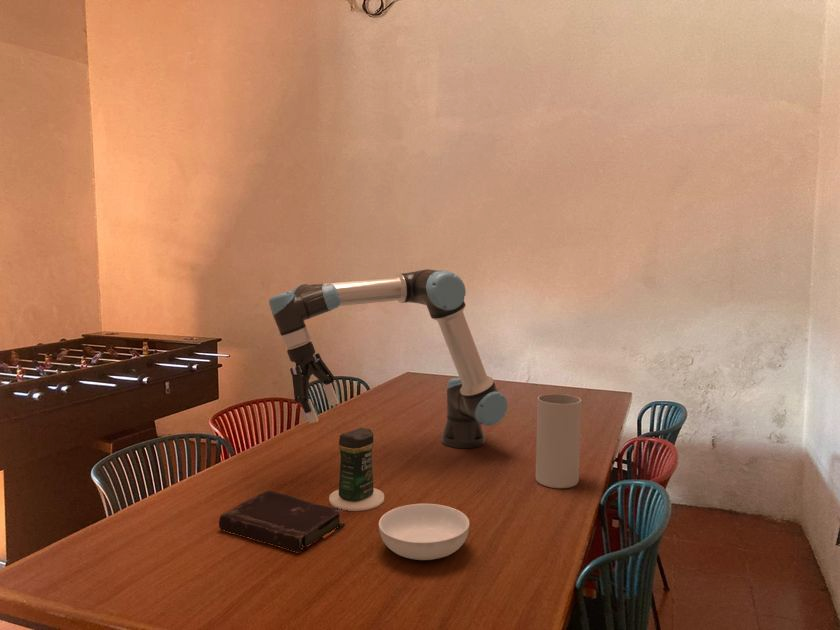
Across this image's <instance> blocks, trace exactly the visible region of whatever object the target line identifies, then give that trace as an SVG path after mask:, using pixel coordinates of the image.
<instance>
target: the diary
mask: <svg viewBox="0 0 840 630" xmlns="http://www.w3.org/2000/svg"><path fill="white" fill-rule="evenodd" d="M345 511H346V510H341V509H337V508H335V507H333V506H332V507H330V506H327V505H323V504H319V503H316V502H310V501H307V500H304V499H301V498H299V497H295V496H292V495H289V494H286V493H282V492H277V491H274V490H270V489H267V490H265V491H263V492H261V493H260V494H256V495H255V496H253V497H251V498H250V499H247V500H245V501H243V502H241V503H239V504H238V505H236V506H235V507H233V508H231V509H229V510H228V511H226V512H224V513H221V514H220V516H219V521H218V528H219V529H221V530H225V531H228V532H231V533H235V534H238V535H242V536H245V537H249V538H252V539H255V540H259V541H262V542H266V543H270V544H273V545H276V546H280V547H283V548H286V549H289V550H292V551H295V552H298V553H301V552H302V550H301V548H304V547H303V546H307V545H309V544H311V543H313V542H314V541H316V540H317V539H319V538H321V537H322V536H324V535H325V534H327V533H329V532H331V531H332V530H334V529H335V528H336V529H335V531H336V530H338V529H339V530H340V528H341V529H342V528H343V527H344V526H345V525H346V524H345V522H343V523H340V519H341V516H340V514H342V513H345ZM337 527H338V528H337ZM221 530H220V531H221ZM339 530H338V531H339ZM336 532H337V531H336ZM231 533H230V534H231ZM238 535H237V536H238ZM242 536H241V537H242ZM245 537H244V538H245ZM321 539H322V538H321ZM319 540H320V539H319ZM317 541H318V540H317ZM317 541H316V542H317ZM314 543H315V542H314ZM314 543H313V544H314ZM302 545H303V546H302ZM311 545H312V544H311Z"/></svg>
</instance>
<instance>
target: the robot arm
mask: <svg viewBox="0 0 840 630" xmlns="http://www.w3.org/2000/svg"><path fill="white" fill-rule="evenodd" d="M465 285H466V284H464V281H463V279H461V277H460V276H458V275H457V274H456V273H454V272H452V271H448V270H443V269H442V270H437V269H427V268H426V269H421V270H416V271H409V272H403V273H398V274H396V275H395V277H384V278H383V277H382V278H371V279H361V280H350V281H339V282H327V283H317V284H316V283H315V284H307V283H305V284H299V285H296V286H295V288H293V290H288V291H284V292H281V293H279V294H276V295H274V296H272V297H270V298H269V300H268V304H269V307H270V311H271V314H272V317H273V319H274V321H275V324H276V326H277V329H278V331H279V334H280V336H281V340H282V342H283V345H284V347H285V348H286V349H287V351H286V353H287V355H288V359H289V360H290V362H291V363H295V366H294V367H291V368H290V369H289V371H290V373H291V376H292V377H291V378H292V386H293V397H294V402H295V404H300V405H301V406H302V409H303V411H304V414H305V416H306V419H307V421H308V424H309V425H310V424H313V423H317V422H319V417H318V416H317V412H316V410H315V407H314V405H313V403H312V400H311V399H309V391H310V389H309V388H310V387H309V385H310V384H309V383H310V382H309V381H310V379H311V376H313V375H314V377H315V378H317V379H318V381H320V382H321V383H322V384H323V385H322V388H323V390H324V393H325V395H326V396H325V397H326V398H327V402H328V404H329V406H330V407H333V406H336V405H339V404H340V402H339V399H338V397H337V394H336V391H335V389H334V387H333V383H334V382H335V377H334V374H333V373H332V372H331V370H330V369H329V368H328V366H327V365H326V364H325V362H324V361H323V359H322V357H321V355H320V353H316V349H315V347H314V346H315V345H314V344H313V342H312V341H311V336H310V333H309V331H308V328H307V326H306V323H305V321H306V320H309V319H311V318H315V317H317V316H320V315H322V314H326V313H328V312H331V311H333V310H335V309H336V308H339V307H343V306H354V305H355V306H356V305H364V304H374V303H383V302H385V303H386V302H395V301H397V302H399V303H400V304H403V303H404V304H405V303H409V304H410V303H412V304H419V305H420V304H421V305H423V306H426V308H427V310H428V312H429V315H430V318H431V319H432V320H434V321H437V322H438V323H437V324H438V326H439V328H440V331H441V333H442V336H443V338H444V341H445V345H446V346H447V348H448V351H449V353H450V356H451V359H452V362H453V365H454V367H455V369H456V372H457V375H458V377H452V378H450V379H448V380H447V382H446V383H447V385H446V422H445V424H444V428H443V431H442V434H441V443H442V444H444V445H445V446H446V447H451V448H456V449H457V448H458V449H475V448H478V447H481V446H483V445H484V444H485V443H486V442H485V441H486V440H485V439H486V438H485V437H486V436H485V432H484V430H483V426H482V425H484V426H489V427H490V426H496V425H497V424H499V423H500V422H501V421H502V420H503V419H504V417H505V415H506V413H507V410H508V400H507V398H506V397H505V395H504V394H503V393H502V392H500V391H499V390H498V389H497V386H496V384H495V381H494V379H493V377H491V376H488V375H487V373H486V371H485V370H486V369H485V367H484V364H483V363H482V359H481V355H479V351H478V348H477V346H476V343H475V341H474V338H473V335H472V333H471V330H470V327H469V324H468V322H467V319H466V316H465V314H464V311H465V308H466V303H465V297H466V295H467V294H466V293H467V291H466V286H465Z"/></svg>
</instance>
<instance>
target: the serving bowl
mask: <svg viewBox="0 0 840 630" xmlns="http://www.w3.org/2000/svg"><path fill="white" fill-rule="evenodd" d="M378 531H379V535H380V538H381V539H382V541H383V543H384V544H385V546H386V547H387V548H388V549H389V550H391V552H393V553H395V554H397V555H398V556H400V557H403V558H406V559H410V560H418V561H432V560H436V559H441V558H445V557H448V556H450V555H452V554H453V553H455V552H456V551H458V550H459V549H460V548H461V547H462V546H463V545H464V543H465V542H466V540H467V538H468V536H469V535H468V534H469V531H470V519H469V517H468V516H467V515H466V514H465V513H463V512H462V511H460V509H459V510H458V509H456V508H453V507H451V506H447V505H443V504H438V503H414V504H406V505H402V506H398V507H394V508H393V509H390V510H389V511H387V512H385V513H384V514H383V515H382V516H381V517H380V519H379V520H378Z"/></svg>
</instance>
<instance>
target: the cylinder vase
mask: <svg viewBox="0 0 840 630" xmlns="http://www.w3.org/2000/svg"><path fill="white" fill-rule="evenodd" d="M536 407H537V408H536V409H537V410H536V439H535V440H536V443H535V445H536V447H535V449H536V450H535V480H536V482H537V483H539V484H540V485H542V486H544V487H548V488H552V489H570V488H573V487H576V486H577V485H578V483H579V482H580V481H579V479H580V478H579V477H580V451H581V449H580V448H581V447H580V446H581V422H582V420H581V419H582V398H580V397H578V396H576V395H575V396H574V395H572V394H571V395H570V394H566V393H565V394H564V393H563V394H562V393H548V394H541V395H538V397H537V406H536Z"/></svg>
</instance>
